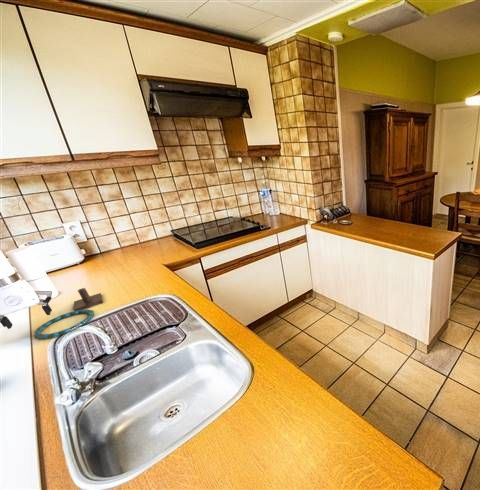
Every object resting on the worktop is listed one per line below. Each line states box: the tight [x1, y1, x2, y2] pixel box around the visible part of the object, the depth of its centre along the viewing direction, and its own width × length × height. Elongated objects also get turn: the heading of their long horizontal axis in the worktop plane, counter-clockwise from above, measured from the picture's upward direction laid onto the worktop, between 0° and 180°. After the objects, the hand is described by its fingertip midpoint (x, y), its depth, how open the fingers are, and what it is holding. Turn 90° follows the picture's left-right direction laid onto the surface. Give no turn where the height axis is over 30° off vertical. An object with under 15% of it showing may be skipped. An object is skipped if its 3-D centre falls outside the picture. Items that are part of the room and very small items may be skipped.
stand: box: [73, 287, 104, 311], centre depth 119 cm, size 9×9×8 cm
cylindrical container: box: [5, 246, 59, 300], centre depth 123 cm, size 7×7×25 cm
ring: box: [33, 308, 95, 340], centre depth 107 cm, size 17×17×2 cm
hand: (30, 320), depth 100 cm, fingers open, 9 cm apart
